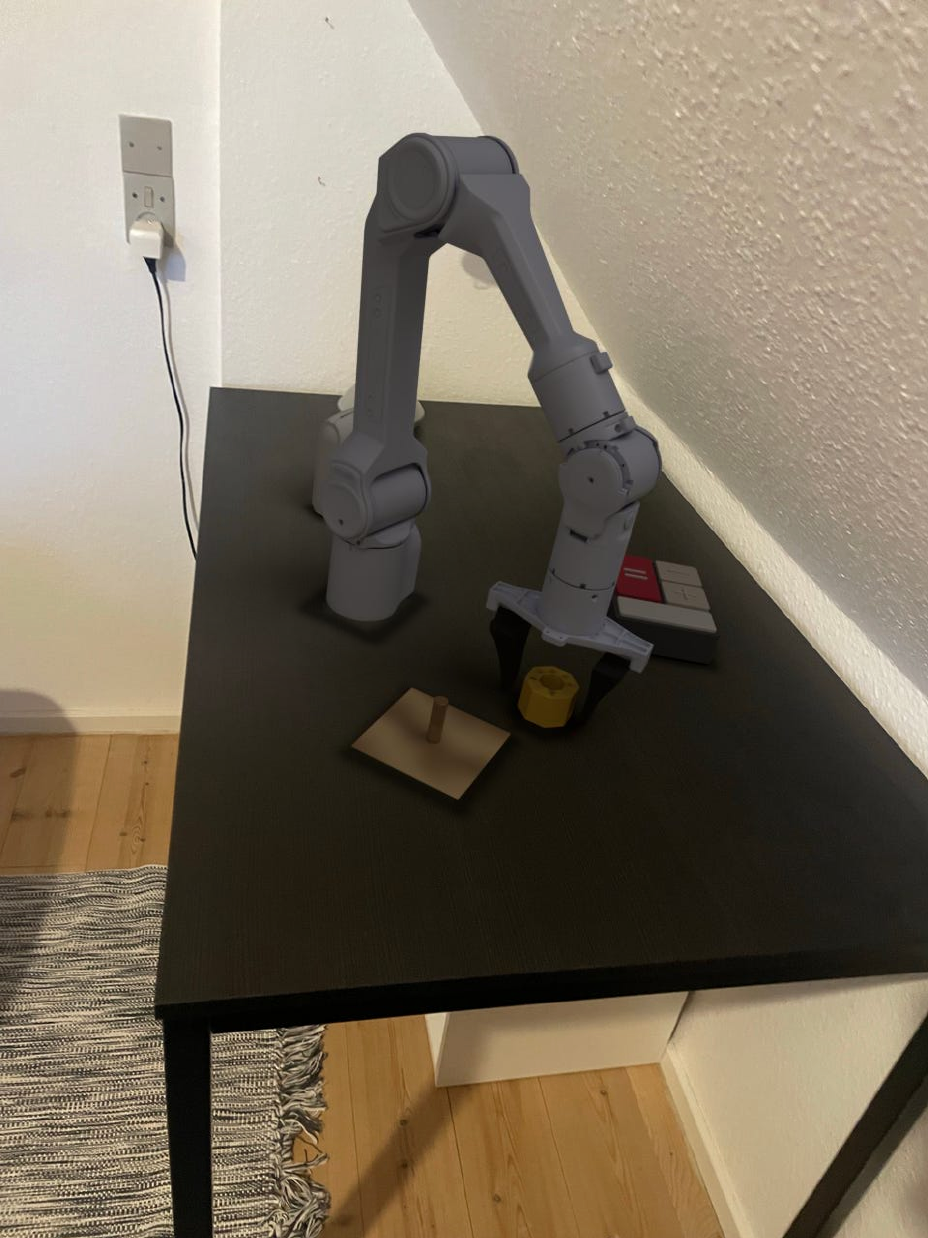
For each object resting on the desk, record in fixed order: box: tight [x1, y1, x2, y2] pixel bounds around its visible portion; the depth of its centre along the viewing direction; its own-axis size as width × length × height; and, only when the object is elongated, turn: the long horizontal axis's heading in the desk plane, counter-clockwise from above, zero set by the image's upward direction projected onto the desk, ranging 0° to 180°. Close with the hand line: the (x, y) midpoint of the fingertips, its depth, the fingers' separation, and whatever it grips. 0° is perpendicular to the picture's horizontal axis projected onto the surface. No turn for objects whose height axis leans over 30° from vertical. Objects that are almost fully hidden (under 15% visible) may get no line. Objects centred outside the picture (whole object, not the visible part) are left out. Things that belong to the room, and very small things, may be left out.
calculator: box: [606, 553, 721, 665], centre depth 103 cm, size 11×4×15 cm
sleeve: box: [517, 665, 580, 729], centre depth 84 cm, size 5×5×4 cm
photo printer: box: [311, 406, 354, 517], centre depth 110 cm, size 10×4×12 cm, turn 137°
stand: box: [350, 687, 511, 800], centre depth 78 cm, size 10×10×5 cm
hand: (546, 701), depth 85 cm, fingers open, 7 cm apart
